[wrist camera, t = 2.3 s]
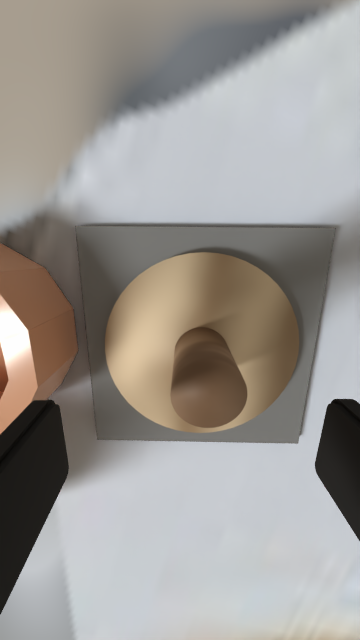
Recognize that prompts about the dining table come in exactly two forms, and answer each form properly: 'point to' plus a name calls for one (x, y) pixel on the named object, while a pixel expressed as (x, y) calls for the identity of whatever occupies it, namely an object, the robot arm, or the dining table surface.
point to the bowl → (31, 334)
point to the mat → (166, 242)
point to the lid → (202, 342)
